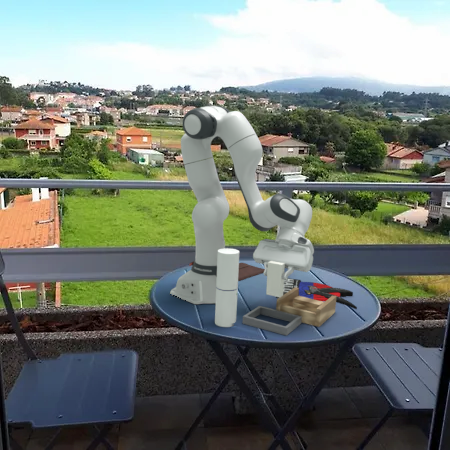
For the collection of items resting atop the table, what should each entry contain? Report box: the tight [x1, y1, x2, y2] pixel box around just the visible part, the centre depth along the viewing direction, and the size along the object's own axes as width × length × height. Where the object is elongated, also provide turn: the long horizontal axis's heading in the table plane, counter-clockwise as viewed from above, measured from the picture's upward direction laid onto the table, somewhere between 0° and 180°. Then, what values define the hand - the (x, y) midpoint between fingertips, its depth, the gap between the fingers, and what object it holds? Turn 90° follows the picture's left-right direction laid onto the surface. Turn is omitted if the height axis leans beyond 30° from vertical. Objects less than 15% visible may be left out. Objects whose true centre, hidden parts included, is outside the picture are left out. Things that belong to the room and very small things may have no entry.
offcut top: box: [294, 296, 325, 309], centre depth 172 cm, size 10×4×2 cm, turn 55°
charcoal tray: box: [242, 305, 302, 336], centre depth 161 cm, size 16×12×4 cm
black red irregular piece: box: [275, 277, 358, 310], centre depth 193 cm, size 26×4×30 cm
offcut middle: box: [293, 303, 316, 312], centre depth 172 cm, size 10×4×2 cm, turn 62°
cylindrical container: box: [214, 247, 240, 328], centre depth 160 cm, size 7×7×25 cm
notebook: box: [238, 262, 265, 282], centre depth 220 cm, size 15×20×2 cm
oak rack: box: [275, 287, 337, 328], centre depth 171 cm, size 16×16×7 cm
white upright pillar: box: [265, 261, 286, 298], centre depth 158 cm, size 5×2×11 cm, turn 59°
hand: (274, 277), depth 158 cm, fingers closed on white upright pillar, 5 cm apart
